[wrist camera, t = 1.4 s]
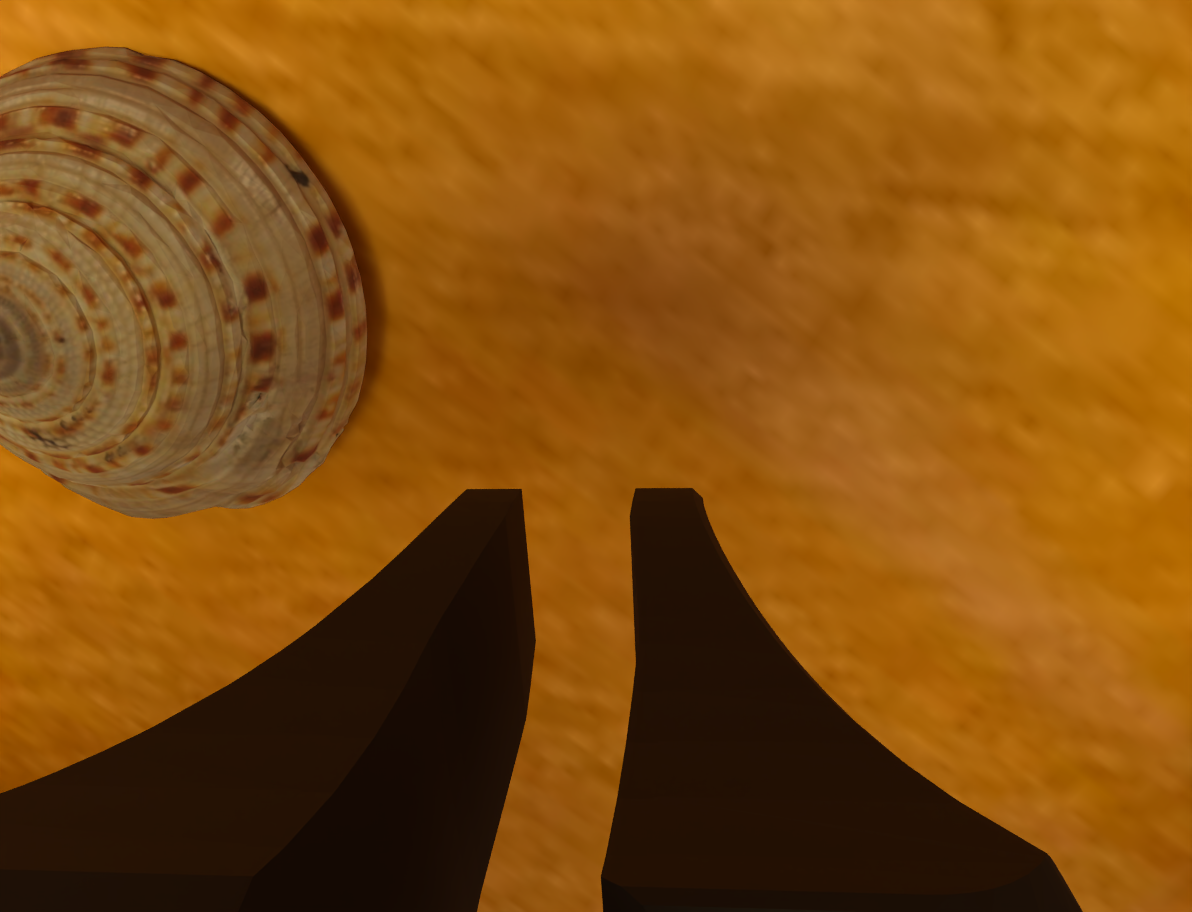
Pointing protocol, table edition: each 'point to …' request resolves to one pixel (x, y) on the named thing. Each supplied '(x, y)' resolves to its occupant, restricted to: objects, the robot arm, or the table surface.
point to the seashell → (167, 289)
